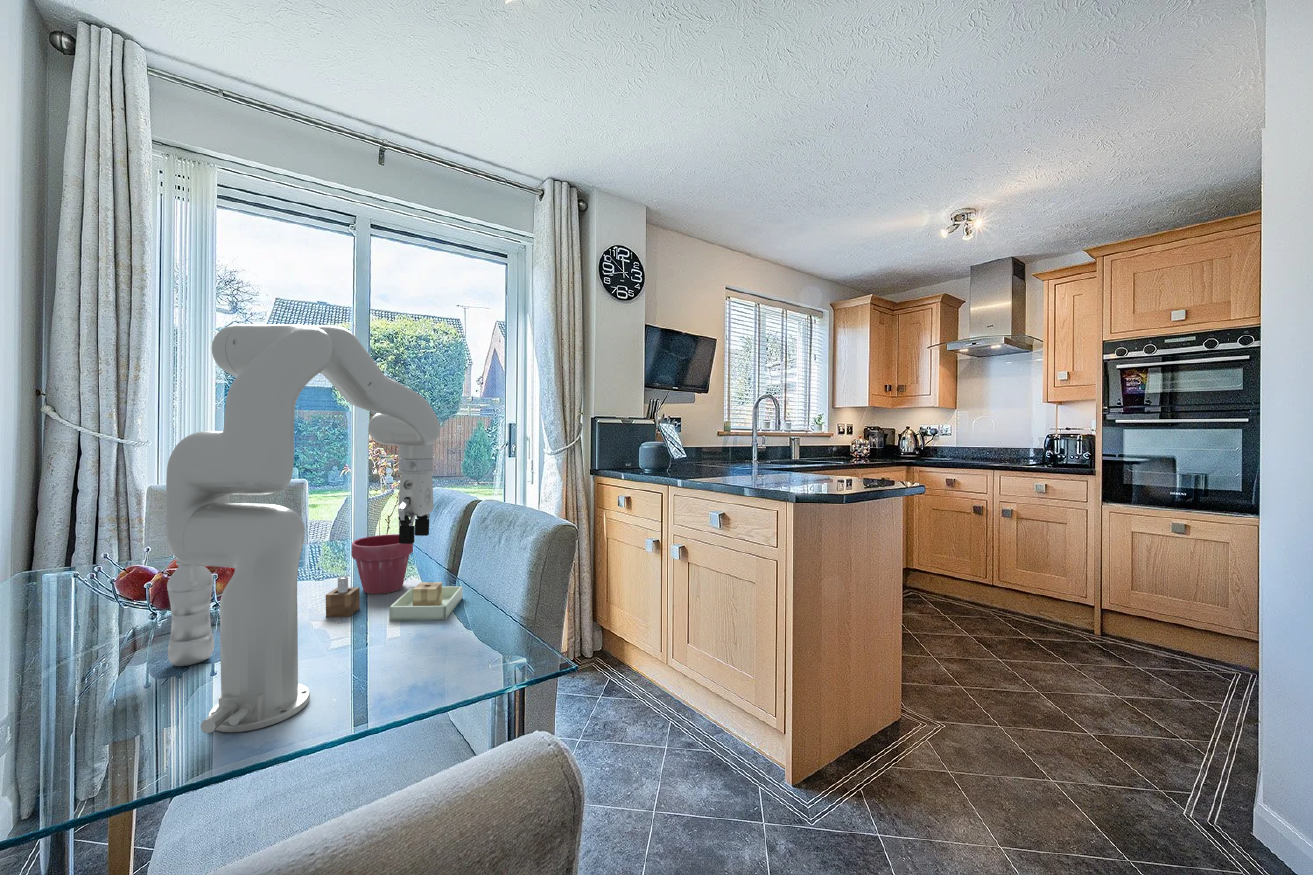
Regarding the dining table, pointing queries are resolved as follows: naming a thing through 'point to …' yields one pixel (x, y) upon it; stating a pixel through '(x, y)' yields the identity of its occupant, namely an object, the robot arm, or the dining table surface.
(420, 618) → the tray
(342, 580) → the pin
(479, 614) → the dining table surface
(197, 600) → the plastic bottle
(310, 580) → the dining table surface
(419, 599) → the oak block
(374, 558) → the plant pot
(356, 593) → the walnut block
